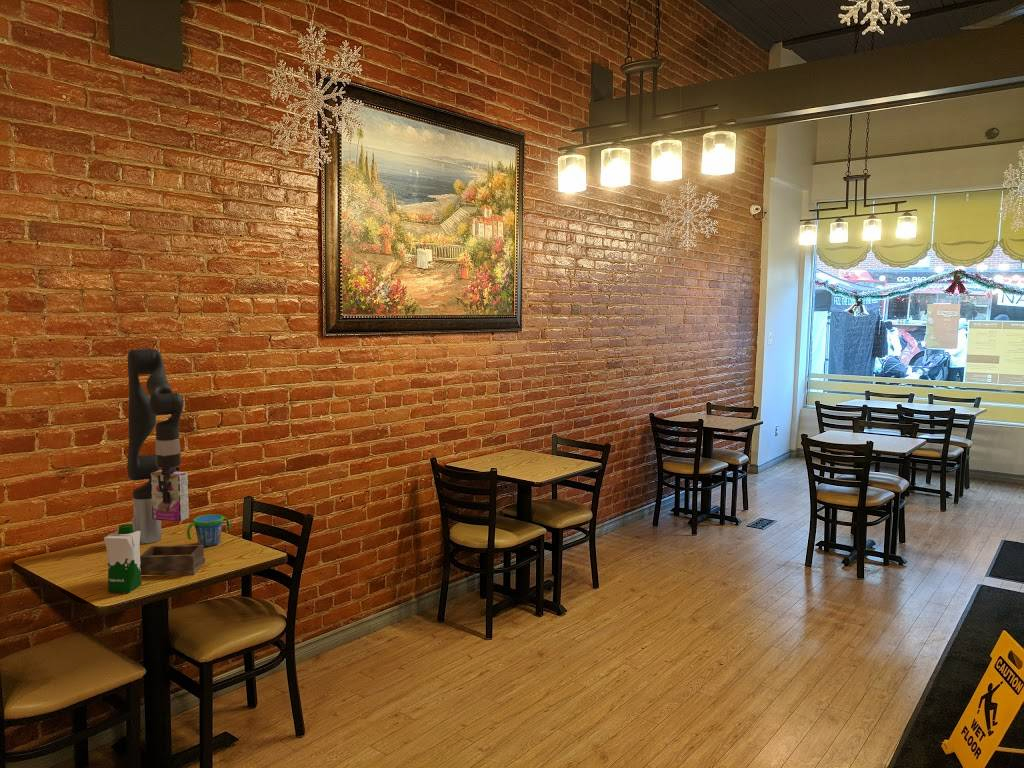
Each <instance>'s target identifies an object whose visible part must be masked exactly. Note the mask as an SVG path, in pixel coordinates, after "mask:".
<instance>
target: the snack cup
mask: <svg viewBox="0 0 1024 768" xmlns="http://www.w3.org/2000/svg"><path fill="white" fill-rule="evenodd" d="M224 520H226V531H227V532H228V533H229V532H230V530H231V523H230V521H229V519H228V518H227V517H225V516H223V515H222V514H213V513H211V514H209V513H208V514H203V515H198V516H196V517H195V518H193V520H192V522H190V523H189V525H188V527H187V529H186V537H187V539H188V540H191V539H192V538H191V533H190V531H191V529H192V527H193V526H194V529H195V531H196V532H195V533H196V538H197V543H198V545H204V547H205V546H206V547H211V546H210V545H213V546H216V545H219V543H220V542H221V536H222V527H223V523H224ZM215 544H216V545H215Z"/></svg>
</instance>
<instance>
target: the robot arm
mask: <svg viewBox="0 0 1024 768" xmlns="http://www.w3.org/2000/svg"><path fill="white" fill-rule="evenodd" d="M162 356H163V355H162V354H161V352H160V351H159V350H158V349H156V348H142V349H138V348H137V349H130V350H129V351H128V354H127V358H126V359H127V377H128V379H127V380H128V411H127V412H128V414H127V415H128V417H127V418H128V422H127V423H128V450H127V451H128V452H127V465H126V471H127V477H128V479H129V480H130V481H134V482H135V481H143V480H147V482H146V483H144V484H143V485H141V486H139V487H136V488H135V489H133V491H132V502H133V517H132V518H131V524H132V525H133V530H134V531H141V532H140V544H142V545H143V544H144V543H145V544H153V543H157V542H158V541H159V542H160V541H161V540H162V520H153V519H152V494H151V473H152V472H155V471H159V470H162V472H161V475H158V483H159V492H162V493H163V503H164V504H169V503H170V486H171V482H169V483H167V481H168V480H169V477H170V476H169V475H170V474H173V473H174V472H180V466H181V463H182V460H181V459H182V458H181V442H180V430H179V429H180V421H181V417H182V413H183V409H184V403H185V402H184V401H185V400H184V397H183V396H182V395H181V394H180V393H178V392H173V390H172V387H171V385H170V383H169V381H168V379H167V373H166V370H165V369H166V368H165V364H164V360H163V357H162ZM141 375H149V376H148V378H147V380H146V385H145V386H146V390H147V392H148V393H147V392H146V391H145V389H144V387H143V386H142V384H141V382H140V379H139V378H140V376H141ZM166 415H170V417H169V418H168V419H166V420H163V421H159V422H157V416H166ZM154 429H155V440H156V442H155V453H154V454H143V455H140V451H141V448H142V446H143V444H144V443H145V441H146V440H147V438H148V437H149V436H150V435H151V433H152V432H153V430H154ZM164 487H165V488H164Z"/></svg>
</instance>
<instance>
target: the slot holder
mask: <svg viewBox="0 0 1024 768" xmlns="http://www.w3.org/2000/svg"><path fill="white" fill-rule="evenodd" d="M204 548H205V546H204V545H199V544H181V545H178V544H176V545H175V544H174V545H151V546H150V547H149V548H148V549H146V551H144V552H143V553H141V554H140V567H141V575H165V576H186V575H187V576H193V575H196V573H197V572H198V571H199V570H200V569H201V568H202V567H203V566H204V565H205V563H206V558H205V550H204Z"/></svg>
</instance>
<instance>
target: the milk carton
mask: <svg viewBox="0 0 1024 768" xmlns="http://www.w3.org/2000/svg"><path fill="white" fill-rule="evenodd" d="M140 532H141V531H134V530H133V525H132V523H131V524H130V523H125V524H121V525H118V530H116V531H114V532H112V533H110V534H108V535H106V536H104V537H103V540H104V545H105V548H106V560H107V593H108V592H114V593H113V594H131V591H132V592H133V591H134V590H136V589H138V588H139V587H140V586H142V576H141V567H140V556H141V551H140V550H141V547H140V546H141V545H140ZM138 586H139V587H138ZM137 587H138V588H137Z"/></svg>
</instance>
